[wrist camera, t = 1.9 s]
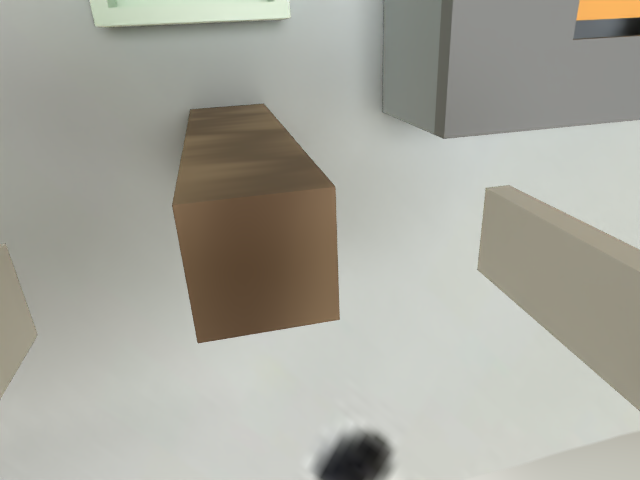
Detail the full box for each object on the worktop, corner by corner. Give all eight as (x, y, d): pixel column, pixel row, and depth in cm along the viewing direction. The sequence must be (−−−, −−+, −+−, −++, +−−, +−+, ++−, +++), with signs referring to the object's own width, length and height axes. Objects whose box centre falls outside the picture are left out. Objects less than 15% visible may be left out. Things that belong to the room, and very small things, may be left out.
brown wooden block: (201, 180, 27) (197, 343, 13) (190, 109, 25) (172, 205, 11) (270, 173, 28) (339, 319, 13) (263, 103, 26) (335, 186, 12)
